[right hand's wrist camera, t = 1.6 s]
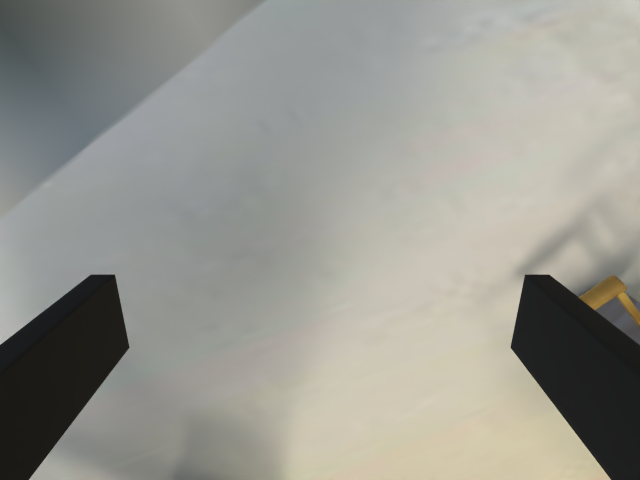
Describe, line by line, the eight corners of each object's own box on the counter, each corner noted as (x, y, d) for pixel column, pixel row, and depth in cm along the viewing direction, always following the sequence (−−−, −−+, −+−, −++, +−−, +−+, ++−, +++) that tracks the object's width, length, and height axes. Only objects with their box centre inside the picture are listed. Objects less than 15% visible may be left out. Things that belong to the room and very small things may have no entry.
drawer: (500, 301, 39) (543, 349, 31) (581, 243, 37) (648, 280, 29) (627, 448, 45) (687, 517, 38) (702, 406, 43) (782, 471, 36)
